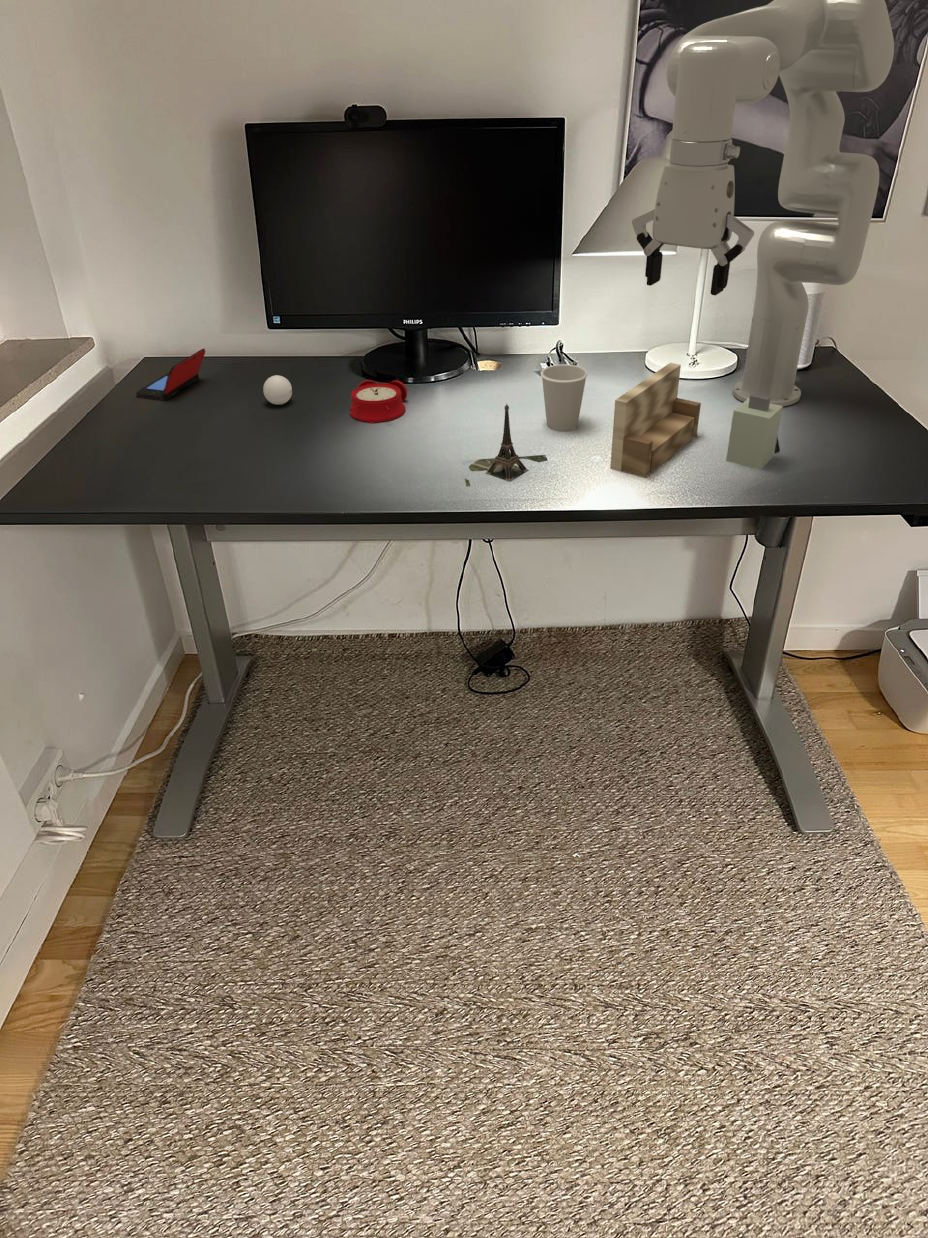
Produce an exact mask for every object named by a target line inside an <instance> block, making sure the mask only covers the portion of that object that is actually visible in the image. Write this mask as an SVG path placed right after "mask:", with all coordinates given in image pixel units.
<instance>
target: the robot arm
mask: <svg viewBox="0 0 928 1238" xmlns="http://www.w3.org/2000/svg"><path fill="white" fill-rule="evenodd" d="M894 39H895V38H894V34H893V29H892V25H891V20H890V15H889V10H888V7H887V3H886V1H885V0H772V1H771V2H769V3H768V4H766V5H762V6H757V7H754V8H749V9H747V10H743V11H740V12H738V13H733V14H731V15H726V16H723V17H719V18H715V19H712V20H711V21H707V22H705V23H702V24H700V25H698V26H696V27H695V28H693V29H691V30H690V31H689V32H687V33H685V35H684V36H682V37H681V39H679V41H678V42H677V43H676V44H675V46H674V48H673V49H672V52H671V53H670V56H669V58H668V59H669V60H668V61H667V66H666V67H667V68H666V82H667V86H668V89H669V91H670V92H671V94H672V95H673V97H675V99H674V111H673V120H672V121H673V122H672V131H671V133H672V134H671V139H670V142H671V143H670V150H669V153H670V154H669V160H668V161H669V162H667V163H665V164H664V167H663V170H662V173H661V177H660V179H659V180H660V181H659V186H658V189H657V194H656V200H655V206H654V209H652V210H650V211H648V212H646V213H644V214H641V215H640V216H637V217H635V218H633V219H632V220H631V224H632V228H633V231H634V233H635V235H636V241H637V242H638V244H639V245H640V246H641V248H642V249H643V254H644V256H646V261H645V270H644V272H645V273H644V275H645V278H646V285H647V286H654V285H655V284H657V283H658V282H660V281H661V277H662V265H663V255H664V254H663V251H661V249H662V247H663V246H664V245H668V246H669V245H670V246H677V247H685V248H693V249H702V250H711V253H712V255H713V256H714V257H715V260H716V261H717V263H716V264H714V265H713V269H712V270H713V271H712V276H711V277H712V278H711V286H710V294H711V296H717V295H719V294H720V293H722V292H723V291H724V289H725V288H726V287H727V285H728V283H729V281H728V280H729V274H730V266H731V262H733V261H734V260H735V259H736V258H737V257H738V256H740V255H741V254H742V253H743V252H744V251H745V250H746V248H747V246H748V245H749V243H750V242H751V241H752V239H753V237H754V236H755V232H754V229H751V227H750V226H747V225H746V224H745V223H744V222H743V221H741V220H739V219H738V218H737V217H735V198H736V197H735V196H736V195H735V193H736V192H735V190H736V189H735V187H736V183H735V181H736V180H735V177H736V176H735V166H734V165H733V164H729V162H730V160H732V159H738V158H739V156H740V152H741V147H740V146H735V145H734V144H733V139H732V132H733V131H732V130H733V124H734V116H735V109H736V105H752V104H756V103H758V102H761V101H762V100H763V99H765V98H766V97H768V95H770V93H771V92H772V90H773V89H774V87H775V85H776V83H777V81H778V78H780V81H781V84H782V86H783V90H784V92H785V95H786V98H787V102H788V103H787V104H788V108H789V118H790V119H789V126H788V127H789V128H788V133H787V138H786V144H785V147H784V149H785V151H784V153H783V160H782V165H781V171H780V175H779V176H780V177H779V180H778V191H777V198H778V203H779V204H780V206H781V207H782V208H784V209H786V210H788V211H794V212H799V213H809V214H815V215H823V216H824V215H826V216H833V217H836V218H837V221H838V222H837V223H838V224H833V223H832V224H831V223H822V222H817V221H807V220H798V219H781V220H777V221H774V222H772V223H770V224H768V225H767V226H766V227H765V228H764V230H763V231H762V233H760V236H759V239H758V244H757V247H756V248H757V251H756V253H757V254H756V262H757V264H756V265H757V266H756V267H757V269H756V271H757V277H756V289H755V290H756V291H755V298H754V307H753V313H752V316H751V317H752V318H751V325H750V331H749V337H748V344H747V349H746V350H747V351H746V357H745V364H744V371H743V377H742V380H739V381H738V382H736V383H735V384H734V385H733V388H732V395H733V396H734V397H735V398H736V399H737V400H739V401H740V402H742V403H743V402H745V401H746V400H747V399H750V396H751V395H752V394H757V395H762V396H766V397H771V399H770V404H775V405H780V406H783V407H787V406H788V407H789V406H791V405H793V404H796V403H797V402H799V400H800V398H801V395H802V390H801V389H800V387H798V386H797V385H796V384H795V381H796V376H797V371H798V367H799V360H800V354H801V350H802V345H803V344H802V343H803V338H804V335H805V329H806V328H805V327H806V324H807V318H808V313H809V308H810V303H809V298H808V293H807V292H806V289H805V287H804V284H803V282H806V283H807V282H808V283H815V284H820V285H821V284H823V285H829V286H843V285H846V284H848V283H850V282H851V281H852V280H853V279H854V278H855V276H856V275H857V273H858V270H859V267H860V265H861V262H862V258H863V253H864V249H865V247H866V246H865V245H866V241H867V237H868V232H869V228H870V224H871V221H872V216H873V212H874V208H875V204H876V199H877V194H878V189H879V186H880V185H879V184H880V168H879V167H880V166H879V163H878V162H877V159H875V158H874V157H872V156H870V155H867V154H865V153H852V152H843V151H842V152H841V151H840V147H841V140H842V134H843V131H844V125H845V120H846V118H845V111H844V107H843V105H842V102H841V100H840V97H839V96H838V94H837V92H848V93H849V92H852V93H853V92H854V93H866V92H867V93H868V92H872V91H874V90H876V89H878V88H879V87H880V86H881V85H882V84H883V83H884V82H885V81H886V79H887V77H888V75H889V73H890V71H891V68H892V64H893V61H894V55H895V54H894V53H895V40H894ZM650 222H652V229H651V230H652V236H651V235H650V233H649V232H648V229H647V224H648V223H650ZM733 233H734V234H735V235H736V236H737V238H738V240H737V241H736V243H734V244H735V245H734V246H733V247H732V248H731V247H730V245H729V243H728V242H729V241H730V240H731V238H732V235H733Z"/></svg>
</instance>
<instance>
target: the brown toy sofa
mask: <svg viewBox="0 0 928 1238" xmlns="http://www.w3.org/2000/svg"><path fill="white" fill-rule="evenodd" d="M681 367H682V365H681V364H678V363H673V362H669V363H668V364H666V365H665V366H663V367H662V368H660V369H659V370H657V371H656V372H654V373H653V374H651V375H650V376H648V377H646V379H644V380H642V381H641V382H639V383H638V384H637V385H635V386H633V387H632V388H631V389H629V390H628V391H626V392H625V393H623V394H622V395H621V396H619V397H618V398H616V399H615V400H614V411H613V426H612V439H611V441H612V442H611V453H610V455H611V456H610V464H609V465H610V466H609V467H610V469H611V470H615V471H620V472H623V473H627V474H630V475H634V476H636V477H637V476H638V477H641V478H647V477H648V476H649V475H650V474H652V473H653V472H654V471H655V470H656V469H658V468H659V467H660V466H661V465H663V464H664V463H665V462H666V461H667V460H669V458H671V457H672V456H673V455H675V454H676V453H677V452H678V451H679V450H680V449H683V447H685V446H686V445H687V444H688V443H689V442H690V441H691V440H692V439H694V438H695V437H696V436H697V434H698V427H699V420H700V412H701V404H702V403H701V402H698V401H694V400H689V399H685V398H679V397H678V395H679V384H680V377H681V376H680V375H681Z"/></svg>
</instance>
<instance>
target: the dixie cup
mask: <svg viewBox="0 0 928 1238" xmlns="http://www.w3.org/2000/svg"><path fill="white" fill-rule="evenodd" d="M588 374H589V373H588V371H587V370H586V369H585V368H584V367H582V366H579V365H575V364H568V363H567V364H565V363H564V364H563V363H561V364H555V365H554V364H553V365H550V366H547V367H545V368H543V369H542V370H541V371H540V376H541V380H542V389H543V401H544V407H545V409H544V410H545V421H546V426H547V428H548V429H550V430H553V431H557V432H569V431H573V430H575V429H577V427H578V426H579V420H580V419H579V418H580V415H581V414H580V413H581V408H582V403H583V402H582V401H583V397H584V391H585V384H586V379H587V377H588Z"/></svg>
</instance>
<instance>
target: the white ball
mask: <svg viewBox="0 0 928 1238" xmlns="http://www.w3.org/2000/svg"><path fill="white" fill-rule="evenodd" d="M262 389H263V395H264V397H265V398H266V400H267V401H268V402H269V403H271V404H272V405H278V406H279V405H284V404H286V403H288V401H289V400H290V399H291V397H292V395H293V386H292V384H291V382H290V381H289V379H288V378H286V377H284V376H282V375H278V374H276V375H272V376H270V377H268V378H267V379H266V381H265V382H264V384H263V388H262Z"/></svg>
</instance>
